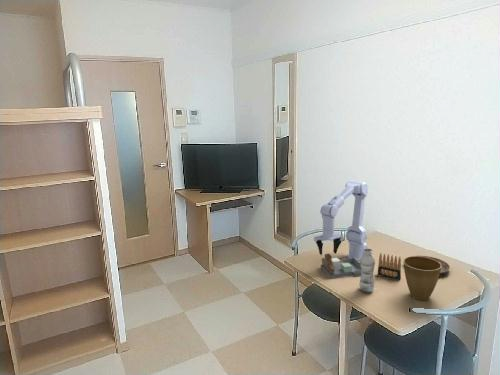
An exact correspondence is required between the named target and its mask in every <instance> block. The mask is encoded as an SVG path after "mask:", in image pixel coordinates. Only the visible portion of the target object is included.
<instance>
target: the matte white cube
mask: <svg viewBox="0 0 500 375" xmlns="http://www.w3.org/2000/svg"><path fill="white" fill-rule="evenodd" d="M340 262H341V260H340V259H339V258H338V257H332V264H331V265H332V266H333V267H338V266H340Z"/></svg>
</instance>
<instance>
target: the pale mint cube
mask: <svg viewBox="0 0 500 375" xmlns="http://www.w3.org/2000/svg"><path fill="white" fill-rule="evenodd" d="M341 269H342V270H343V271H344V272H352V265H350V264H349V263H342V264H341Z"/></svg>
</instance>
